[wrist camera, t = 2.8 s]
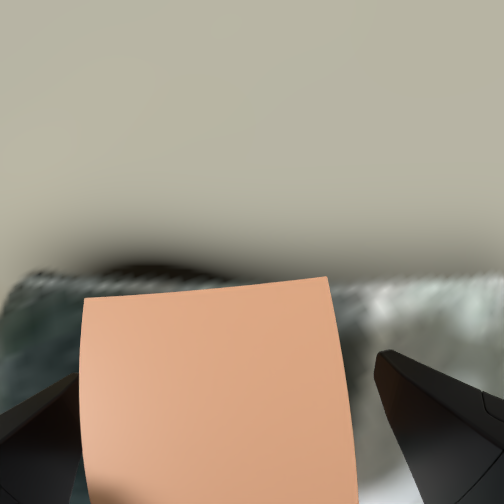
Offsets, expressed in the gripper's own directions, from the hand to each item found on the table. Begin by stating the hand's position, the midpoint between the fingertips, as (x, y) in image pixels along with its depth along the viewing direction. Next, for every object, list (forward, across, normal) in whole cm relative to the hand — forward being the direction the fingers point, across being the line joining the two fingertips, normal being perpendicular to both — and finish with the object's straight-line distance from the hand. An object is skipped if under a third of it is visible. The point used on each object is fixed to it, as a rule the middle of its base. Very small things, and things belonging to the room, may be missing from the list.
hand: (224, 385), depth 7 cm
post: (+5, 0, +6) cm, 8 cm away
